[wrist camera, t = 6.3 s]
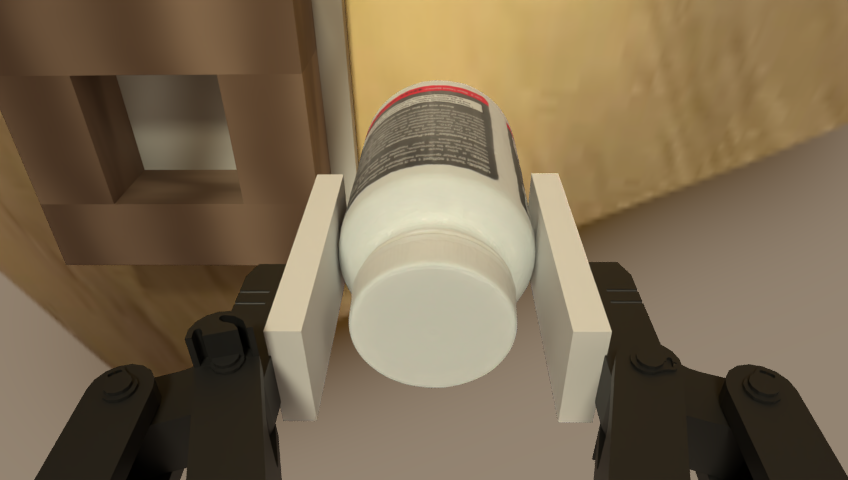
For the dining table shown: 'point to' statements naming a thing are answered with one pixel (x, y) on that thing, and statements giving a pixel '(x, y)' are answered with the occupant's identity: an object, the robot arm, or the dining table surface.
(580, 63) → the dining table surface
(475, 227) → the pill bottle
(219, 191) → the socket block
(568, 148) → the dining table surface
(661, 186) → the dining table surface
